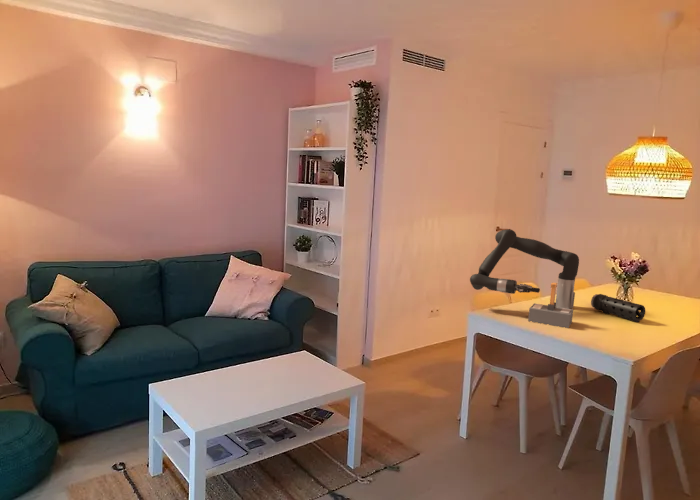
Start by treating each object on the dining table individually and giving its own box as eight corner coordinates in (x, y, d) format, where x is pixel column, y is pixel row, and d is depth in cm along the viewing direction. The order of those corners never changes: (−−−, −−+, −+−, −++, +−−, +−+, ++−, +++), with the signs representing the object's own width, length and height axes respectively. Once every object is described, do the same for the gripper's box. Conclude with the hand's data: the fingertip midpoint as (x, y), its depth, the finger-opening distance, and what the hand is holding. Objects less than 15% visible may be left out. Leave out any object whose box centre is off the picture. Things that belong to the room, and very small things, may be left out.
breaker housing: (528, 321, 275) (529, 302, 273) (533, 315, 287) (534, 298, 285) (568, 328, 265) (570, 309, 264) (571, 322, 277) (573, 304, 276)
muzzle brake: (633, 323, 281) (635, 305, 279) (588, 310, 305) (590, 293, 304) (644, 322, 285) (646, 303, 284) (599, 309, 310) (601, 292, 308)
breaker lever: (548, 308, 273) (551, 283, 271) (549, 306, 277) (552, 282, 276) (553, 309, 272) (555, 284, 270) (554, 307, 276) (557, 283, 274)
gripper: (504, 281, 279) (537, 285, 271) (510, 277, 290) (542, 281, 282) (503, 294, 280) (536, 299, 272) (508, 290, 292) (541, 295, 283)
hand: (539, 290), depth 277 cm, fingers closed
